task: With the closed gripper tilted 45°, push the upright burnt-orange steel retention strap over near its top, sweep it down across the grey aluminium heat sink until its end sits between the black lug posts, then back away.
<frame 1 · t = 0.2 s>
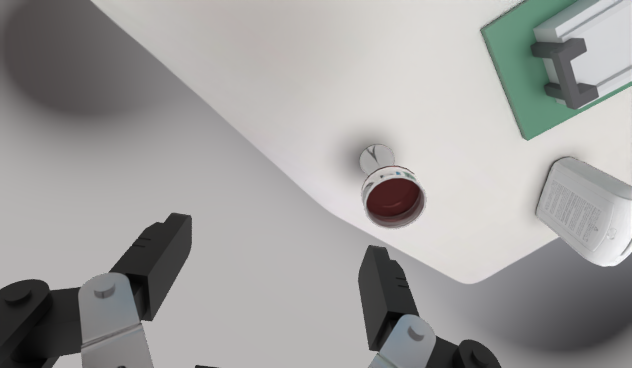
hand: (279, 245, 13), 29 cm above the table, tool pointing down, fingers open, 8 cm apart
wineglass: (376, 160, 43), on the table
photo printer: (554, 188, 44), on the table
processor board: (583, 41, 35), on the table
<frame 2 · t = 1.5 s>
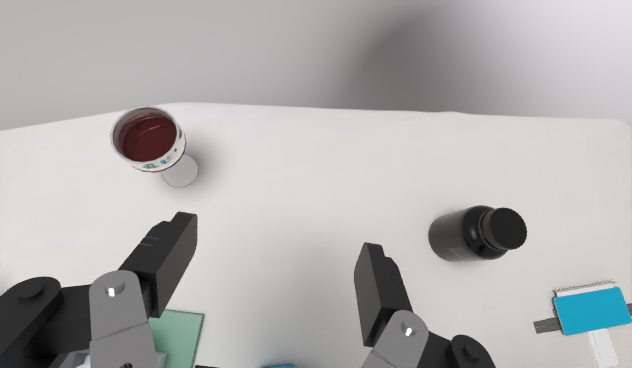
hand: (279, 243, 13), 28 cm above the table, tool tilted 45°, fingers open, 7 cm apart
wineglass: (180, 171, 42), on the table
supplement bottle: (447, 238, 45), on the table
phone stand: (587, 321, 45), on the table
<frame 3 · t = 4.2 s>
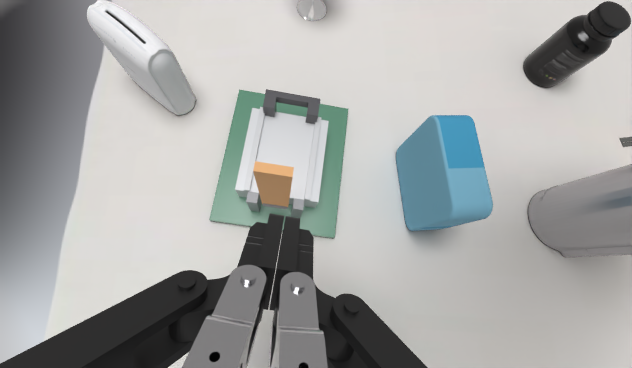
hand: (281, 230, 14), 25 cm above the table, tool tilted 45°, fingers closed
wineglass: (311, 9, 49), on the table
retention strap: (274, 189, 29), point 11 cm above the table, hinge at 0.0°
supplement bottle: (539, 72, 52), on the table
photo printer: (165, 90, 42), on the table
blue rounded block: (414, 189, 43), on the table
processor board: (284, 162, 41), on the table
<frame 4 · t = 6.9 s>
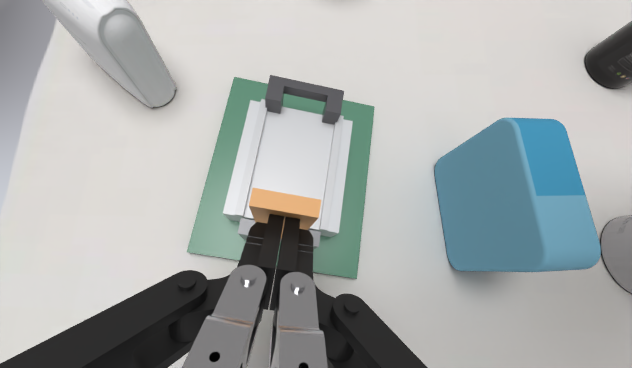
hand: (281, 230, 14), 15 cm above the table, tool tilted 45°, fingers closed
retention strap: (281, 223, 19), point 11 cm above the table, hinge at 0.0°, touching gripper
supplement bottle: (603, 69, 42), on the table
photo printer: (136, 74, 32), on the table
blue rounded block: (457, 214, 33), on the table
processor board: (290, 173, 31), on the table
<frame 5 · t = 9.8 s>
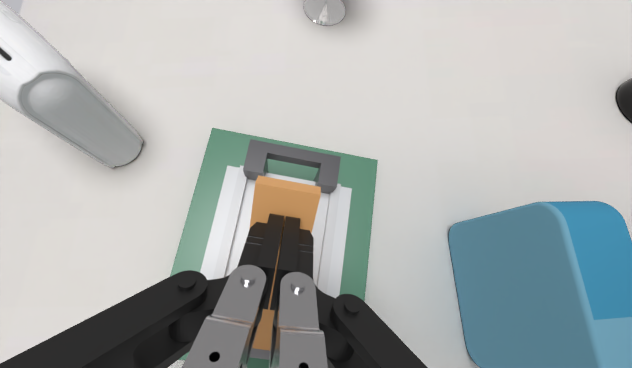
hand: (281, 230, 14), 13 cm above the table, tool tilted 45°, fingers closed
wineglass: (324, 9, 35), on the table
retention strap: (271, 283, 16), point 9 cm above the table, hinge at 46.3°, touching gripper
photo printer: (96, 126, 27), on the table
blue rounded block: (476, 288, 28), on the table
processor board: (278, 245, 26), on the table
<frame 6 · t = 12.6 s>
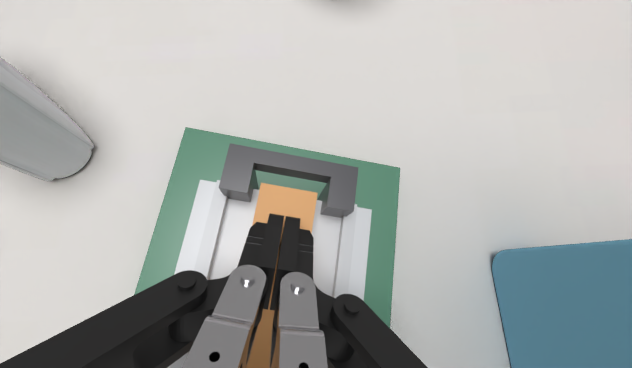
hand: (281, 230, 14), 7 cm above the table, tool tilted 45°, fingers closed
retention strap: (266, 315, 14), point 6 cm above the table, hinge at 88.4°, touching gripper
photo printer: (33, 125, 21), on the table
blue rounded block: (529, 333, 22), on the table
processor board: (272, 282, 20), on the table
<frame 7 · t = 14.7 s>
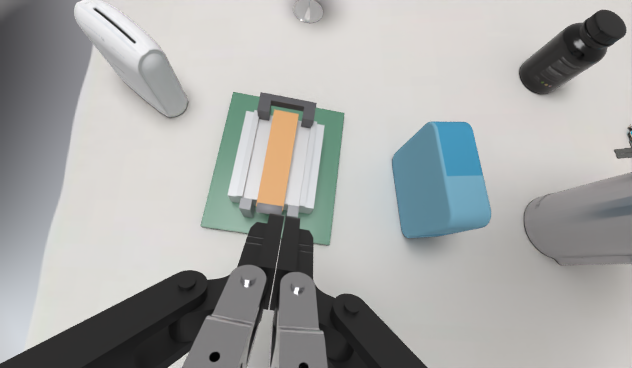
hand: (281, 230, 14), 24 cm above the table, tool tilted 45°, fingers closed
wineglass: (308, 11, 49), on the table
retention strap: (277, 161, 35), point 6 cm above the table, hinge at 88.4°
supplement bottle: (535, 78, 52), on the table
photo printer: (156, 91, 41), on the table
blue rounded block: (410, 196, 42), on the table
processor board: (278, 166, 40), on the table
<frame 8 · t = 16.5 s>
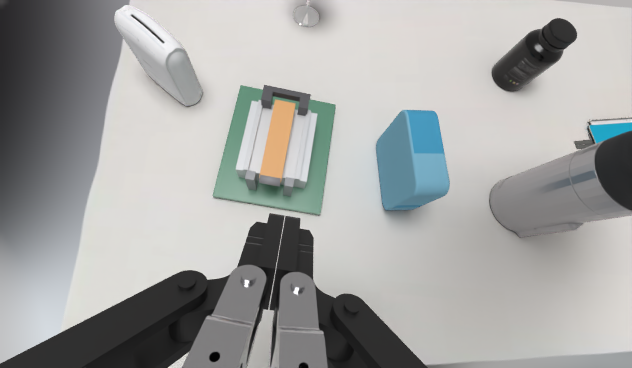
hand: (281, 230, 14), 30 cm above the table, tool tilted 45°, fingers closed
wineglass: (306, 16, 56), on the table
retention strap: (277, 142, 42), point 6 cm above the table, hinge at 88.4°
supplement bottle: (506, 77, 58), on the table
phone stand: (614, 147, 58), on the table
photo printer: (175, 84, 48), on the table
blue rounded block: (391, 176, 49), on the table
processor board: (278, 149, 47), on the table
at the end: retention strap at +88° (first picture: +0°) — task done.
